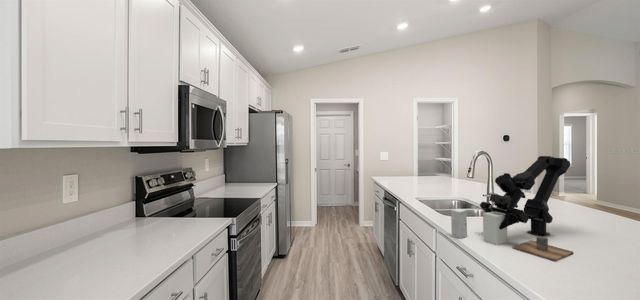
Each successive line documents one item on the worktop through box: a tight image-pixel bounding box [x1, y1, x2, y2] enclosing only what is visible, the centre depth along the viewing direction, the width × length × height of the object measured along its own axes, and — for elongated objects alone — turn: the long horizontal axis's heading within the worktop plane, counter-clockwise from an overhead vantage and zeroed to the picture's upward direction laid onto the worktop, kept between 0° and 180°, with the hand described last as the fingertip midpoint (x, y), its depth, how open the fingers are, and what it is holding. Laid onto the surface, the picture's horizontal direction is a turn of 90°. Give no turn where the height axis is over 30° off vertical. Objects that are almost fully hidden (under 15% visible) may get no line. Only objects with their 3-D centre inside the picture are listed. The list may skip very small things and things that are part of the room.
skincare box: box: [450, 208, 468, 239], centre depth 124 cm, size 6×4×12 cm
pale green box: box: [482, 212, 508, 246], centre depth 116 cm, size 6×6×12 cm
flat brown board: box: [512, 235, 574, 262], centre depth 105 cm, size 14×14×5 cm
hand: (492, 226), depth 116 cm, fingers closed on pale green box, 6 cm apart
